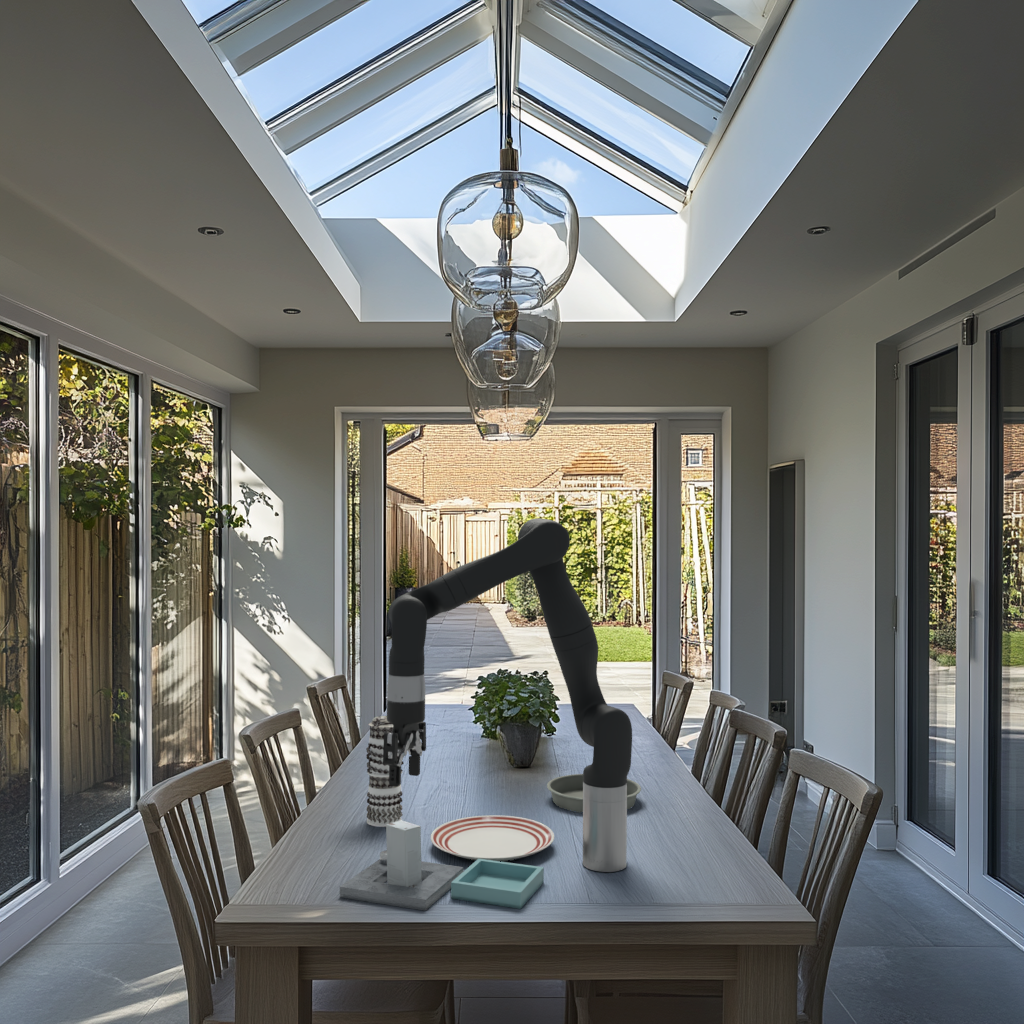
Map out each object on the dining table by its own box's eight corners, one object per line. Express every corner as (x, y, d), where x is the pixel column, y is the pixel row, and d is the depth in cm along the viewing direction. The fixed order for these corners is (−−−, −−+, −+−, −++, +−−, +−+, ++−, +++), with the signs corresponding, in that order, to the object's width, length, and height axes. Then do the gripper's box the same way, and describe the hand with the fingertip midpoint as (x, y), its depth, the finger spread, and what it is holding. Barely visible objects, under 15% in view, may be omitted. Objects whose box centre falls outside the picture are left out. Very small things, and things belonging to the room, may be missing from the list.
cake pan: (536, 811, 230) (536, 793, 231) (559, 786, 254) (559, 770, 254) (632, 820, 223) (632, 802, 223) (647, 794, 247) (647, 777, 247)
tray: (478, 873, 186) (478, 858, 186) (543, 882, 181) (543, 867, 182) (450, 898, 173) (451, 882, 173) (520, 908, 168) (520, 892, 168)
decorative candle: (408, 824, 218) (409, 719, 218) (369, 829, 214) (371, 722, 215) (398, 814, 226) (399, 712, 227) (361, 818, 223) (362, 715, 224)
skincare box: (422, 888, 178) (423, 825, 179) (405, 894, 175) (405, 830, 175) (402, 879, 182) (403, 818, 183) (384, 885, 179) (385, 823, 179)
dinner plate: (542, 875, 186) (543, 858, 186) (414, 864, 192) (414, 848, 192) (562, 833, 213) (562, 819, 213) (449, 825, 218) (449, 811, 219)
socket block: (383, 865, 190) (384, 848, 190) (463, 877, 184) (463, 859, 184) (339, 897, 173) (339, 878, 173) (425, 910, 167) (425, 890, 167)
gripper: (407, 704, 172) (405, 791, 171) (438, 693, 185) (437, 773, 185) (371, 701, 174) (370, 787, 174) (405, 690, 188) (403, 770, 187)
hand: (404, 780), depth 179 cm, fingers open, 8 cm apart
